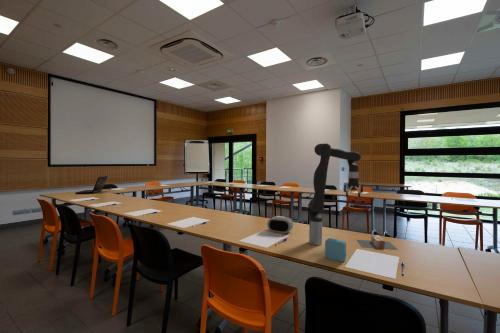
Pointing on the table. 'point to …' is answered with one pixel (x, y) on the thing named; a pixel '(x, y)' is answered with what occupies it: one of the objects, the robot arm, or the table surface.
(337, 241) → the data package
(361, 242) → the charcoal mat
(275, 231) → the alarm clock
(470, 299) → the table surface
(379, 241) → the maple block
